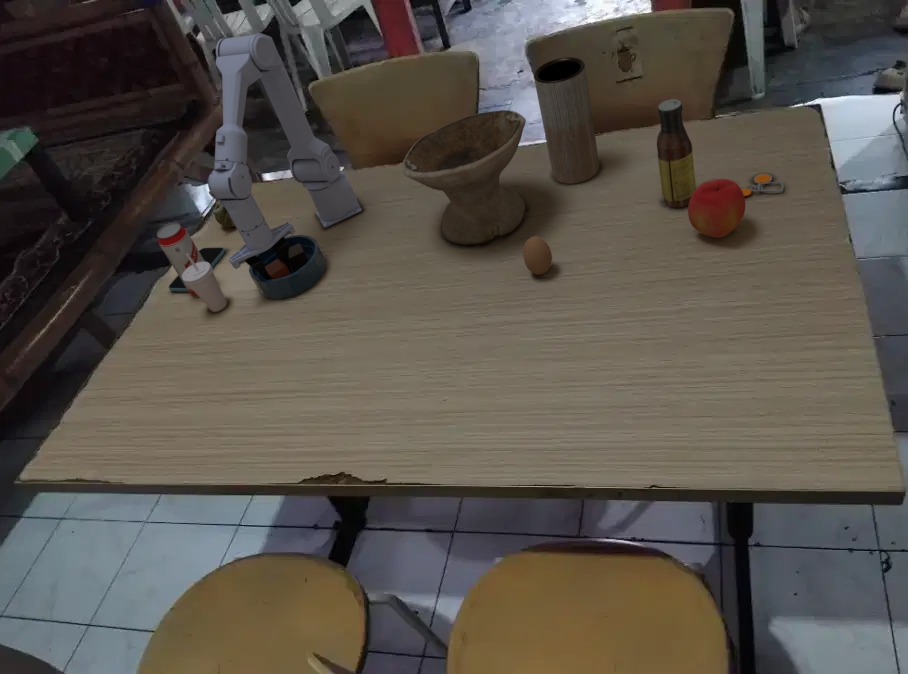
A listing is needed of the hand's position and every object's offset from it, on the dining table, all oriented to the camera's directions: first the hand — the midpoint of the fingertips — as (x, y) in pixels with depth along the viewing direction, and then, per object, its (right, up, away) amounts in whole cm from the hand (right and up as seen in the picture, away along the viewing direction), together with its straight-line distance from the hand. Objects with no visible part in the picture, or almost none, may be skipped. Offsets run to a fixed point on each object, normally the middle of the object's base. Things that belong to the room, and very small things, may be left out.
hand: (279, 276), depth 155 cm
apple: (+85, +5, -22) cm, 88 cm away
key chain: (+93, +15, -16) cm, 95 cm away
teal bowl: (+2, +1, +3) cm, 4 cm away
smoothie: (-14, -6, +3) cm, 15 cm away
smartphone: (-22, +3, +14) cm, 27 cm away
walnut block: (+4, +3, +4) cm, 6 cm away
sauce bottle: (+81, +13, -13) cm, 83 cm away
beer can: (-19, -2, +9) cm, 21 cm away
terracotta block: (0, -1, +1) cm, 1 cm away
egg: (+54, -2, -17) cm, 56 cm away
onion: (-17, +17, +26) cm, 35 cm away
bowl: (+43, +12, 0) cm, 45 cm away
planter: (+63, +23, +3) cm, 67 cm away
